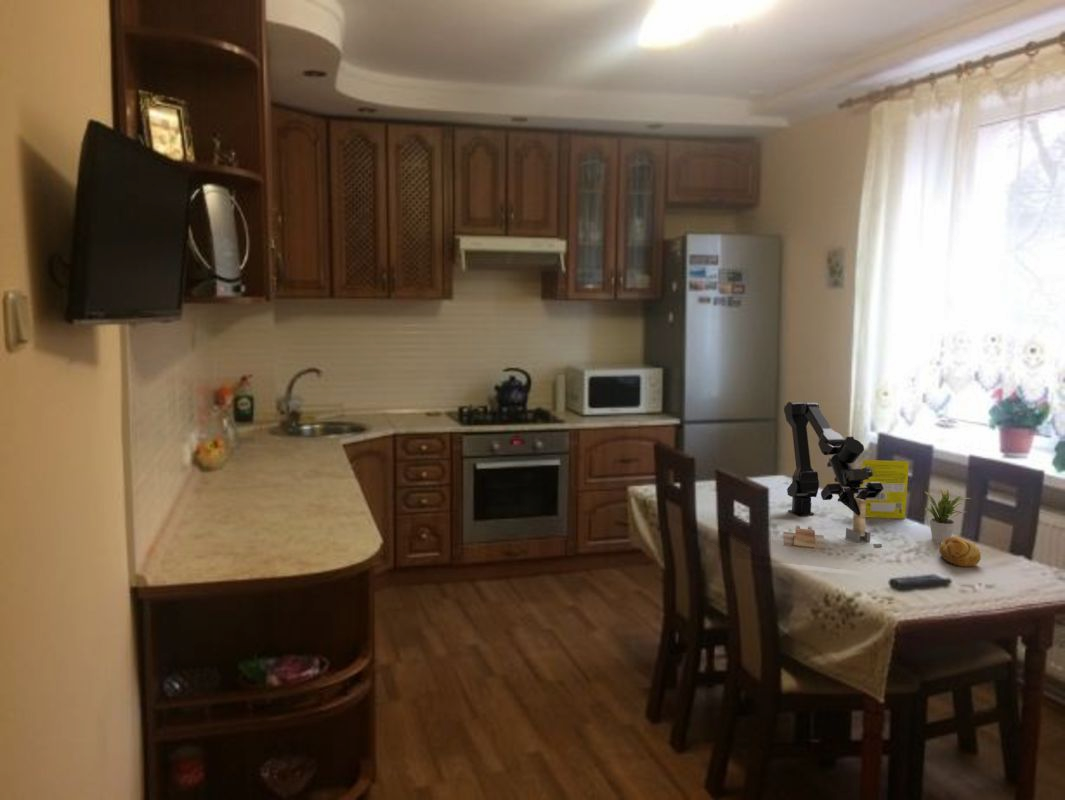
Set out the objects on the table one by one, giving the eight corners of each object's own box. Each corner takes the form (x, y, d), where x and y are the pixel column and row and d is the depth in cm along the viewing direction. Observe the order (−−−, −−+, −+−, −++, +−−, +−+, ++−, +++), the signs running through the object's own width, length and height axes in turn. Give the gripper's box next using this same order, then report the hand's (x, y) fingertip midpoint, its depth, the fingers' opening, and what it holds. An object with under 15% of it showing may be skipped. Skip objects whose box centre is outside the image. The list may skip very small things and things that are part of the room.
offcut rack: (783, 534, 265) (783, 522, 264) (823, 538, 261) (823, 526, 261) (783, 548, 250) (784, 535, 250) (825, 552, 247) (826, 539, 247)
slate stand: (833, 538, 261) (834, 526, 261) (862, 537, 263) (863, 524, 263) (852, 548, 252) (853, 535, 251) (881, 546, 254) (882, 533, 253)
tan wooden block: (852, 533, 259) (853, 498, 258) (857, 532, 259) (858, 498, 258) (860, 536, 255) (861, 500, 254) (864, 536, 255) (865, 500, 254)
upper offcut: (795, 534, 254) (795, 528, 254) (814, 536, 253) (814, 529, 252) (795, 537, 251) (796, 531, 250) (814, 539, 249) (814, 533, 249)
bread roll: (931, 554, 247) (933, 528, 246) (964, 555, 247) (967, 528, 246) (950, 568, 235) (952, 541, 234) (985, 569, 234) (988, 542, 233)
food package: (904, 518, 286) (908, 461, 284) (905, 519, 285) (909, 461, 282) (858, 516, 288) (862, 459, 285) (859, 517, 287) (863, 460, 284)
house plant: (978, 549, 253) (982, 496, 250) (931, 547, 253) (935, 495, 251) (956, 535, 267) (961, 485, 264) (912, 534, 267) (916, 484, 265)
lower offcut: (793, 541, 255) (794, 534, 254) (814, 543, 253) (815, 536, 253) (794, 545, 251) (794, 537, 251) (815, 547, 249) (815, 539, 249)
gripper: (828, 458, 256) (846, 502, 247) (882, 456, 260) (902, 500, 251) (812, 477, 265) (829, 521, 255) (865, 475, 268) (884, 518, 259)
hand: (861, 514), depth 255 cm, fingers closed on tan wooden block, 1 cm apart
